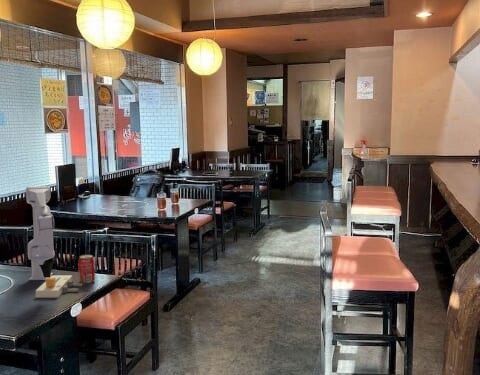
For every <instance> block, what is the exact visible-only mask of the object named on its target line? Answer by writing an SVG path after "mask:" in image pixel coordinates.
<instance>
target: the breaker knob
mask: <svg viewBox="0 0 480 375" xmlns="http://www.w3.org/2000/svg"><path fill="white" fill-rule="evenodd" d="M45 282H46V287H54V286H55V285H56V280H55V278H50V277H49V278H47V279H46V280H45Z"/></svg>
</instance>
